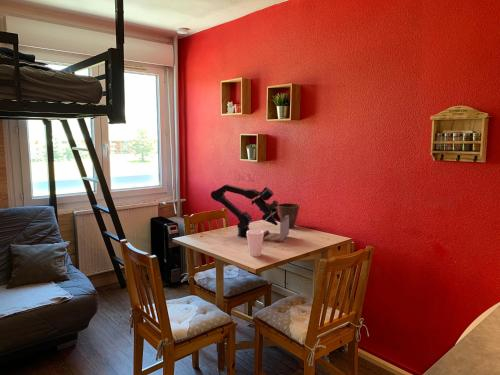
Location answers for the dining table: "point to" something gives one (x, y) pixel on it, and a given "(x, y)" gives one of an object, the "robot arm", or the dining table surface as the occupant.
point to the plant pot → (289, 212)
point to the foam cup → (255, 242)
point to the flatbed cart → (271, 237)
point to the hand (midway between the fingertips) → (279, 223)
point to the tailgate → (284, 227)
